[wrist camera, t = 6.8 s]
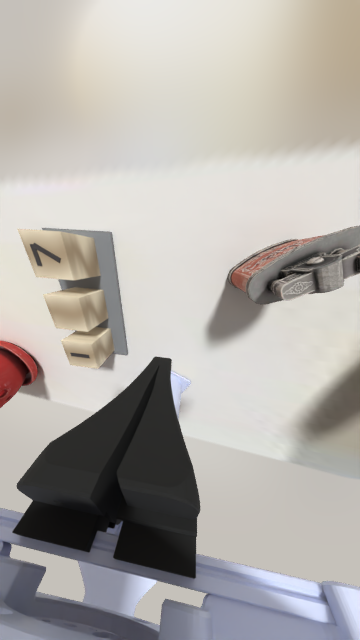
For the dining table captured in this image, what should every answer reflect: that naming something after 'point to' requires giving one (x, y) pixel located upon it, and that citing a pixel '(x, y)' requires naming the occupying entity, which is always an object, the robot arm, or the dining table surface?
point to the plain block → (77, 308)
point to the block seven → (60, 254)
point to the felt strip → (103, 284)
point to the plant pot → (14, 370)
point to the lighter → (299, 267)
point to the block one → (89, 347)
